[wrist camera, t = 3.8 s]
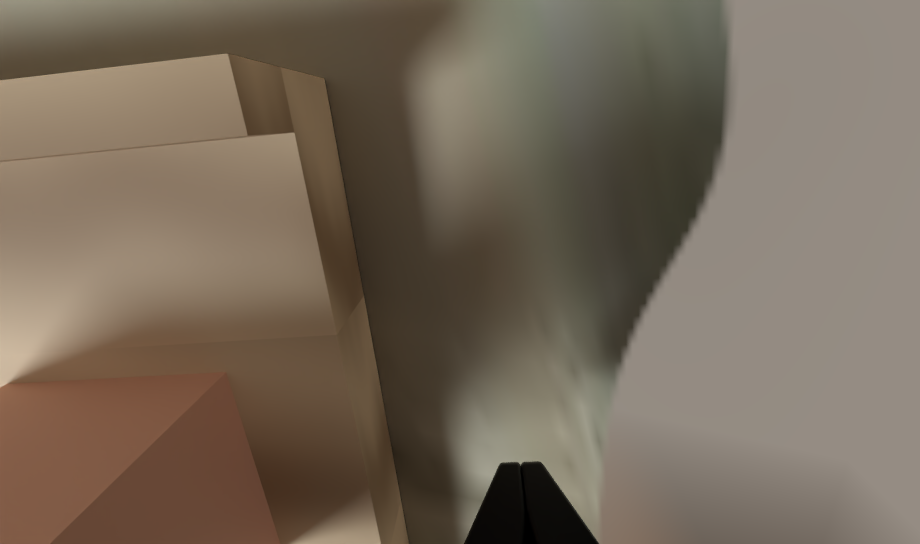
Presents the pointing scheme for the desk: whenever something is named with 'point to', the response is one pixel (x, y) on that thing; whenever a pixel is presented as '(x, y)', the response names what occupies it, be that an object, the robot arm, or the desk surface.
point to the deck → (201, 267)
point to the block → (128, 463)
